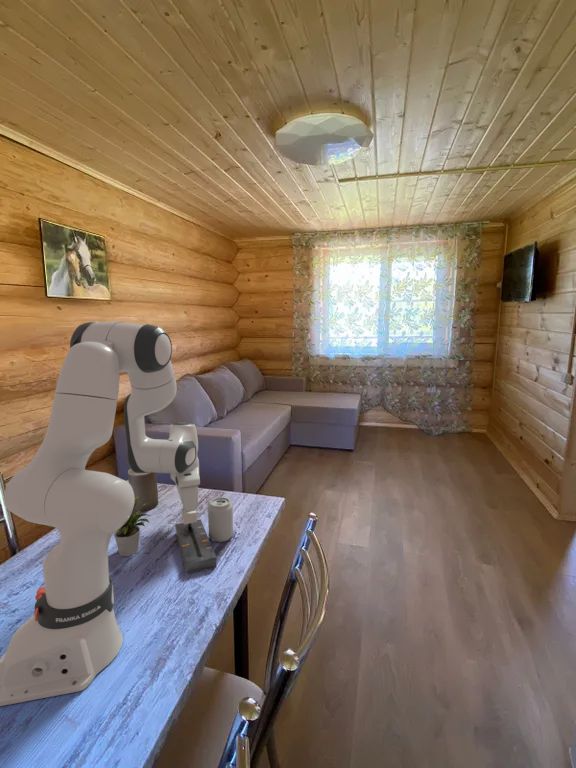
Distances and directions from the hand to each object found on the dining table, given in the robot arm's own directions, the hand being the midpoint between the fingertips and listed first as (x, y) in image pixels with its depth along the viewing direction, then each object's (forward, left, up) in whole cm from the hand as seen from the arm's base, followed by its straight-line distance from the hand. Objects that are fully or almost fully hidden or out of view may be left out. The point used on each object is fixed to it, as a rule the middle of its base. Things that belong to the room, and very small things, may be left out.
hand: (186, 512), depth 123 cm
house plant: (-19, -6, -6) cm, 21 cm away
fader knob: (0, -4, -3) cm, 5 cm away
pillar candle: (-12, +23, -6) cm, 27 cm away
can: (+9, -9, -6) cm, 14 cm away
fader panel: (0, -12, -6) cm, 14 cm away
